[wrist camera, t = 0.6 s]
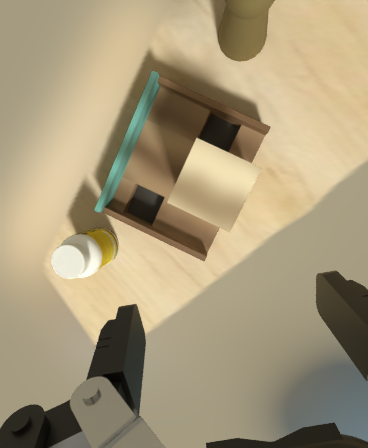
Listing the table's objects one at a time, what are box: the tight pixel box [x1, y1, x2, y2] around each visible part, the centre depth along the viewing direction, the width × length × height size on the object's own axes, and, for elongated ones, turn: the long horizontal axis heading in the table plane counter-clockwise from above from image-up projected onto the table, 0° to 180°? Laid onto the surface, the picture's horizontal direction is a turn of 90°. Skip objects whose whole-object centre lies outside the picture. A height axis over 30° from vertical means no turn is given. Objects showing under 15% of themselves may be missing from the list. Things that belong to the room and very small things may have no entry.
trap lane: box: [95, 70, 270, 261], centre depth 38 cm, size 18×15×5 cm
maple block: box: [167, 138, 262, 232], centre depth 33 cm, size 6×6×11 cm
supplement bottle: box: [51, 228, 119, 279], centre depth 38 cm, size 5×5×10 cm
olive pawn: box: [218, 0, 274, 61], centre depth 32 cm, size 6×6×11 cm
